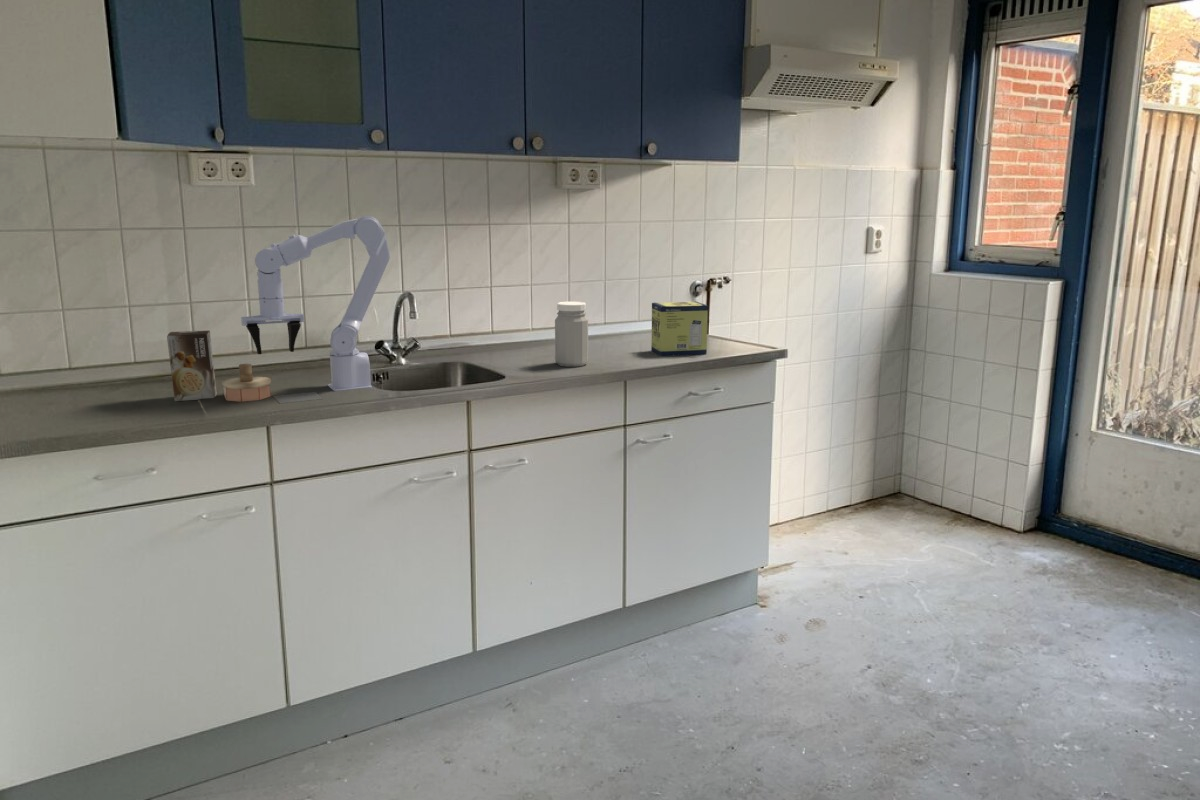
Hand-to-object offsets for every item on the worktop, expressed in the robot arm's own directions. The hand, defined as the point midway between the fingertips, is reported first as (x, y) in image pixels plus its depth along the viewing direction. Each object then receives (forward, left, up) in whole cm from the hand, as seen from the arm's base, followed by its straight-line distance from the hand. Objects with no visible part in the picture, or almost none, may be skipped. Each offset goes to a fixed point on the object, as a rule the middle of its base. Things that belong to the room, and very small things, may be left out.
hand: (275, 352), depth 223 cm
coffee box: (+19, -2, -10) cm, 22 cm away
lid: (+8, +5, -6) cm, 11 cm away
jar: (-82, +2, -10) cm, 83 cm away
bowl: (+8, +4, -10) cm, 14 cm away
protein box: (-121, 0, -10) cm, 121 cm away
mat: (-2, +12, -10) cm, 15 cm away
